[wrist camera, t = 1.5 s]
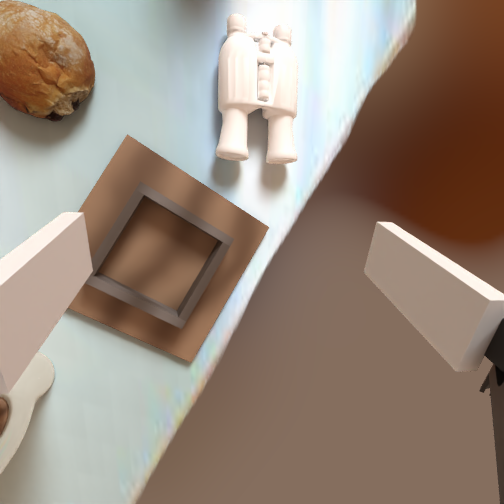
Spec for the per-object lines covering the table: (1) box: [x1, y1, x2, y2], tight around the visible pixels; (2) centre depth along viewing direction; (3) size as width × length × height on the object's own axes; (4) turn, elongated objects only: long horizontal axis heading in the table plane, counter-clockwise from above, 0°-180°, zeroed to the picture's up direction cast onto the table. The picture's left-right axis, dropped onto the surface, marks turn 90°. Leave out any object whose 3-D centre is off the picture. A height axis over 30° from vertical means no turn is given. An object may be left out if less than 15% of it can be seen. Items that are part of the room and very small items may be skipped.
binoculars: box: [216, 14, 298, 164], centre depth 38 cm, size 10×16×5 cm, turn 179°
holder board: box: [68, 135, 269, 362], centre depth 36 cm, size 20×20×4 cm
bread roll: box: [0, 0, 95, 122], centre depth 31 cm, size 10×10×8 cm
